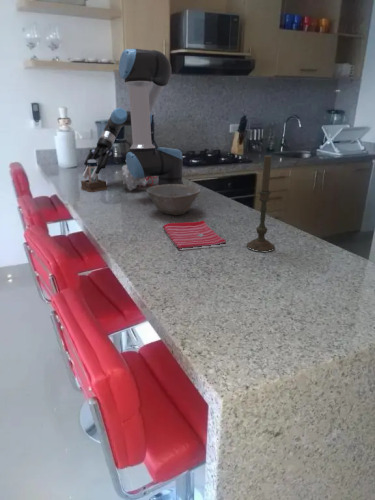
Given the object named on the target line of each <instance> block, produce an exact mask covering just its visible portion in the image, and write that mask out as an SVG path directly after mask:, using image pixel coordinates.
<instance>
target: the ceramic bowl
mask: <svg viewBox="0 0 375 500" xmlns="http://www.w3.org/2000/svg"><path fill="white" fill-rule="evenodd" d="M146 192H147V194H148V196H149V198H150V199H151V201H152V203H153V204H154V206H155V207H156V208H157V209H158V211H160V212H161V213H164V214H166V215H171V216H181V214H182V215H184V214H185V213H186V212H187V211H188V210H190V209H191V207H192V206H193V204H194V202H195V201H196V198H197V197H198V195H199V194H200V193H201V189H200V188H199V187H196V186H194V185H189V184H183V185H182V184H172V185H171V184H167V185H166V184H164V185H157V184H156V185H152V186H151V187H150V186H149V187H148V188H146Z"/></svg>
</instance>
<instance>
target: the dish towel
mask: <svg viewBox="0 0 375 500" xmlns="http://www.w3.org/2000/svg"><path fill="white" fill-rule="evenodd" d="M162 228H164V229H163V231H164V232H165V231H166V232H165V234H166V235H167V234H168V235H169V236H168V235H167V236H168V238H169V237H170V238H171V239H170V238H169V239H170V241H171V240H172V241H173V242H174V244H175V245H176V246H177V247H178V248H179V249H182V248H193V247H202V246H211V245H220V244H227V241H226V239H225V238H223V237H221V236H219V235H218V234H217V233H216V232H215V231H214V230H213V229H212V228H211V227H210V226H209V225H208V224H207V223H206V221H205V220H201V221H192V222H191V221H189V222H172V223H171V222H170V223H165V224H164V225H163V227H162ZM199 234H203V235H204V236H202V237H200V236H197V235H199ZM172 241H171V242H172ZM173 242H172V243H173ZM174 244H173V245H174ZM175 245H174V246H175ZM176 246H175V247H176ZM177 247H176V248H177ZM178 248H177V249H178ZM179 249H178V250H179Z"/></svg>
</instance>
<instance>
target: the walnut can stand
mask: <svg viewBox="0 0 375 500" xmlns="http://www.w3.org/2000/svg"><path fill="white" fill-rule="evenodd" d="M80 181H81V186H80V189H81V190H83V191H85V192H89V193H91V192H92V193H93V192H99V191H106V190H108V186H107V181H105V180H102V179H99V178H98V182H95V183H89V179H88V180H87V179H85V180H80Z"/></svg>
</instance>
